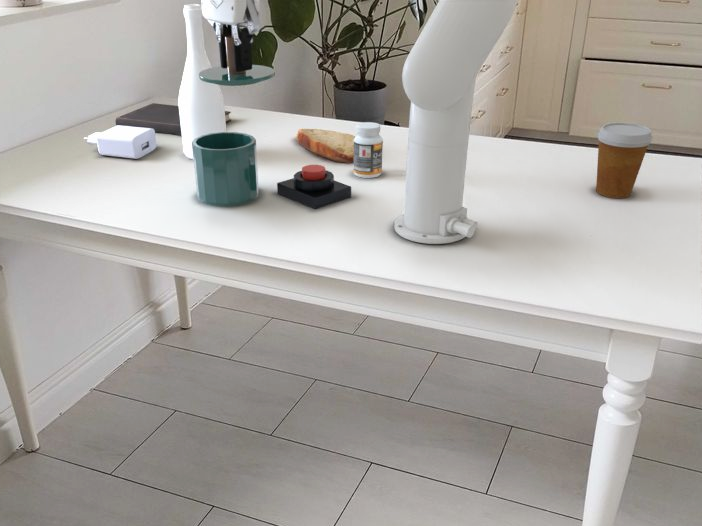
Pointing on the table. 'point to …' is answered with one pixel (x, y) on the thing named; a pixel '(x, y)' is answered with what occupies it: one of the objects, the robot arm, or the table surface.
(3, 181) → the table surface
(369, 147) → the pill bottle
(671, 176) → the table surface
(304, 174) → the release button
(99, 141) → the charger
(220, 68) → the lid
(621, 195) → the disposable coffee cup
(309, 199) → the button housing
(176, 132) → the hardcover book
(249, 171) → the canister
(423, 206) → the robot arm
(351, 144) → the bread slice
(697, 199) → the table surface
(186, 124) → the wine bottle
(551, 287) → the table surface
